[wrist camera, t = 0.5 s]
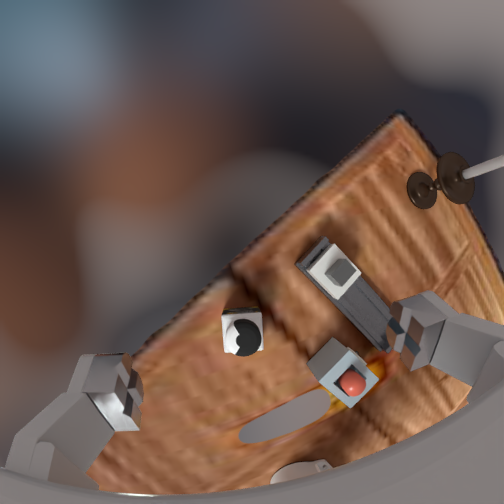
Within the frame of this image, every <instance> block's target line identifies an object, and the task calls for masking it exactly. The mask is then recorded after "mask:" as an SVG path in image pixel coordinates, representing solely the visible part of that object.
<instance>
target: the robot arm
mask: <svg viewBox="0 0 504 504" xmlns="http://www.w3.org/2000/svg"><path fill="white" fill-rule="evenodd" d="M389 313H390V314H391V316H392V318H391V319H390V321H389V322H388V323H387V328H386V335H387V340H388V343H389V345H390V346H391V348H392V349H393V350H395V351H397V352H399V353H400V359H401V361H402V362H403V363H404V364H405V366H406V367H407V368H408V369H409V371H410V372H411V371H413V370H416V369H418V368H421V367H423V366H425V365H428V364H430V365H432V366H434V367H435V368H437V369H439V370H441V371H443V372H445V373H447V374H449V375H451V376H453V377H455V378H456V379H458V380H460V381H462V382H464V383H466V384H468V385H470V386H472V389H471V390H470V392H469V394H468V395H467V399H466V400H467V401H468V403H469V404H467V405H466V406H464V407H463V408H461V409H460V410H458V411H456V412H455V413H453V414H451V415H450V416H448V417H446V418H445V419H443V420H441V421H440V422H438V423H436V424H434V425H432V426H431V427H429V428H427V429H425V430H423V431H421V432H419V433H417V434H415V435H413V436H411V437H409V438H407V439H405V440H403V441H401V442H399V443H397V444H394V445H392V446H390V447H388V448H385V449H383V450H381V451H378V452H376V453H373V454H371V455H368V456H366V457H363V458H361V459H358V460H355V461H352V462H350V463H347V464H344V465H341V466H338V467H335V468H333V467H332V466H331V465H330V464H329V463H328V462H327V461H326V460H325V459H321V460H317V461H314V462H298V463H294V464H290V465H288V466H285V467H283V468H282V469H280V470H279V471H277V472H276V473H275V474H274V475H273V477H272V479H271V482H270V484H269V485H263V486H258V487H252V488H245V489H238V490H231V491H222V492H212V493H198V494H174V495H155V494H131V493H118V492H108V491H100V490H99V485H98V484H97V482H96V481H94V480H93V479H92V478H91V477H89V476H88V475H87V474H86V472H87V470H88V469H89V467H90V466H91V465H92V463H93V462H94V460H95V459H96V458H97V456H98V455H99V454H100V452H101V451H102V449H103V448H104V447H105V445H106V444H107V443H108V441H109V440H110V438H111V437H112V436H113V434H114V433H115V432H114V431H135V430H140V424H141V415H142V413H141V411H140V409H139V408H138V406H139V405H140V404H141V403H142V402H143V396H144V392H143V384H142V381H141V378H140V376H139V374H138V372H136V371H135V370H133V369H132V364H133V361H132V359H131V358H130V356H129V354H128V353H109V354H92V355H83V356H81V357H80V358H79V361H78V364H77V366H76V369H75V371H74V374H73V377H72V379H71V382H70V385H69V387H68V390H67V393H62V394H61V395H60V396H58V397H57V398H56V399H55V400H54V401H53V402H52V403H50V404H49V405H48V406H47V407H46V408H45V409H44V410H43V411H41V412H40V413H39V414H38V415H37V416H36V417H35V418H34V419H32V421H30V422H29V423H28V424H27V425H26V426H25V427H24V428H22V429H21V430H20V431H19V432H18V433H17V434H16V435H15V437H14V440H13V443H12V446H11V450H10V453H9V456H8V459H7V462H6V466H5V468H3V467H0V504H504V325H501V324H497V323H494V322H491V321H487V320H484V319H481V318H477V317H474V316H471V315H468V314H464V313H461V314H459V313H457V312H456V311H455V310H454V309H453V308H452V307H450V306H449V305H448V304H447V303H446V302H445V301H443V300H442V299H441V298H440V297H439V296H438V295H436V294H435V293H434V292H433V291H429V290H427V291H425V292H422V293H419V294H417V295H414V296H410V297H407V298H404V299H401V300H398V301H394V302H393V303H392V305H391V307H390V312H389ZM324 465H325V466H324Z"/></svg>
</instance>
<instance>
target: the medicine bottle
mask: <svg viewBox="0 0 504 504" xmlns="http://www.w3.org/2000/svg"><path fill="white" fill-rule="evenodd" d="M222 329H223V341H224V351H225V352H226V353H227V352H232V353H233V354H235V355H237V356H249V355H252V354H253V353H255V352H256V351H258V350H263V349H264V346H263V329H262V314H261V311H260V309H259V307H244V308H228V309H223V313H222Z"/></svg>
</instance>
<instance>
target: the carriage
mask: <svg viewBox="0 0 504 504" xmlns="http://www.w3.org/2000/svg"><path fill="white" fill-rule="evenodd" d="M306 271H307V272H308V273H309V274H310V275H311V276H312V277H313V278H314V279H315V280H316V281H317V282H318V283H319V284H320V285H321V286H322V287H323V288H324V289H325V290H326V291H327V292H328V293H329V294H330V295H331V296H332V297H333V298H335V299H337V300H338V299H339V298H340V297H341V296H342V295H343V294H344V293H345V291H346V290H347V289H348V288H349V287H350V286H351V285H352V284H353V282H354V281H355V280H356V279H357V278H358V277H359V276H360V274H361V272H360V270H359V269H358V268H357V267H356V266H355V265H354V264H353V263H352V262H351V261H350V260H349V259H348V257H347V256H346V255H345V254H344V253H343V252H342V251H341V250H340V249H339V248H338V247H337V246H336V245H335V244H330V245H329V246H328V247H327V248H326V249H325V250H324V251H323V252H322V253H321V254H320V255H319V256H318V258H317V259H316V260H315V261H314V262H313V263H312V264H311V265H310V266H309V267H308V268H307V269H306Z"/></svg>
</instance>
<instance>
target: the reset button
mask: <svg viewBox="0 0 504 504" xmlns="http://www.w3.org/2000/svg"><path fill="white" fill-rule="evenodd" d="M338 383H339V385H340V386H341V387H342V388H343V389H344V391H345V392H346V393H347V394H348V395H349V396H352V397H354V396H358V395H360V394H361V393H362V392H363V391H364V390H365V388H366V381H365V380H364V378H362V377H361V376H360V375H359V374H358V373H357V372H356V371H355V370H353V369H347V370H346V371H345V372H344V373H343V374H342V375H341V376H340V377H339V378H338Z"/></svg>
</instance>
